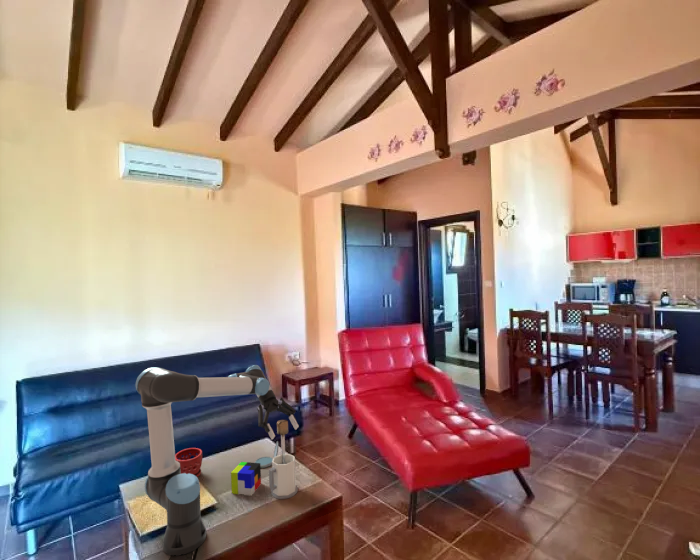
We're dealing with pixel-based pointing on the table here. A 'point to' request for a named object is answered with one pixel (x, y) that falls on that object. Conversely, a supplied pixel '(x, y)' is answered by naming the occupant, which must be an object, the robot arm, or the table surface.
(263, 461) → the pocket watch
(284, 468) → the jug
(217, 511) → the table surface
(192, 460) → the plant pot
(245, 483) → the puzzle toy
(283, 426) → the plunger
